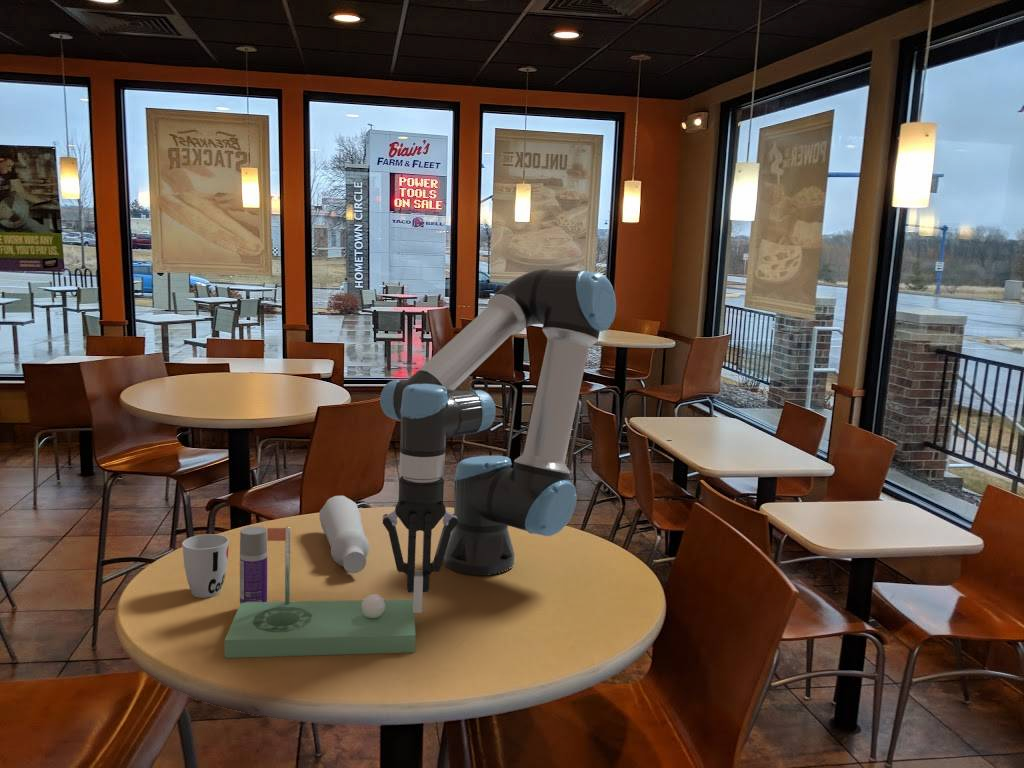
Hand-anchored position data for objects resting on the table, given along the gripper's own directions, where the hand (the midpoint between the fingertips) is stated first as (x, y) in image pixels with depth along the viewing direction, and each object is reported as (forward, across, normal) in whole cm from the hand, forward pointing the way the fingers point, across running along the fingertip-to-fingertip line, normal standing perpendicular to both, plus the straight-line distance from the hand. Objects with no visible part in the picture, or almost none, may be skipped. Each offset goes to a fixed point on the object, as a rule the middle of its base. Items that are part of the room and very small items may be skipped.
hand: (417, 609), depth 136 cm
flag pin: (+1, +24, -6) cm, 25 cm away
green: (+4, +15, 0) cm, 16 cm away
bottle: (+5, +14, -39) cm, 41 cm away
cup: (+5, +39, -19) cm, 43 cm away
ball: (-1, +8, 0) cm, 8 cm away
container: (+5, +29, -10) cm, 31 cm away
